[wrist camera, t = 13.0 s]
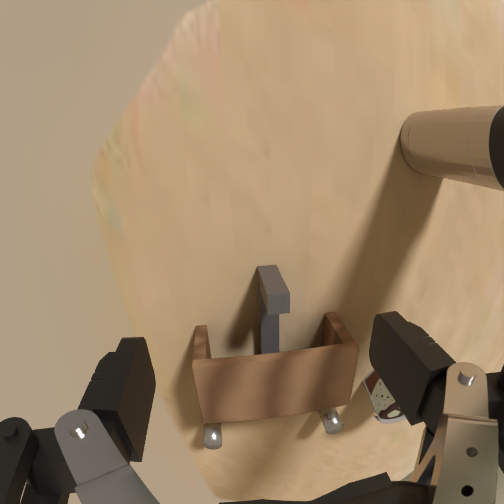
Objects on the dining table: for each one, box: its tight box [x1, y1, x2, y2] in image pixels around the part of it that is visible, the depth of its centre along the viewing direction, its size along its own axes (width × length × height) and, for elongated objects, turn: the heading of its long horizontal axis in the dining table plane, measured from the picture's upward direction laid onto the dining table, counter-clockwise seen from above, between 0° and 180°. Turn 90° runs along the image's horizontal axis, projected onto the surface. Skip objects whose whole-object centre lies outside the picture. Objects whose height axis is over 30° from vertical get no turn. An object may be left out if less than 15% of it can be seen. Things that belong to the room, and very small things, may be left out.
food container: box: [363, 369, 406, 423], centre depth 46 cm, size 12×6×10 cm, turn 143°
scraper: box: [257, 265, 290, 354], centre depth 41 cm, size 10×18×9 cm, turn 3°
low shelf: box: [192, 312, 359, 423], centre depth 41 cm, size 20×10×10 cm, turn 93°
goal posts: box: [203, 407, 343, 449], centre depth 48 cm, size 23×3×6 cm, turn 93°
